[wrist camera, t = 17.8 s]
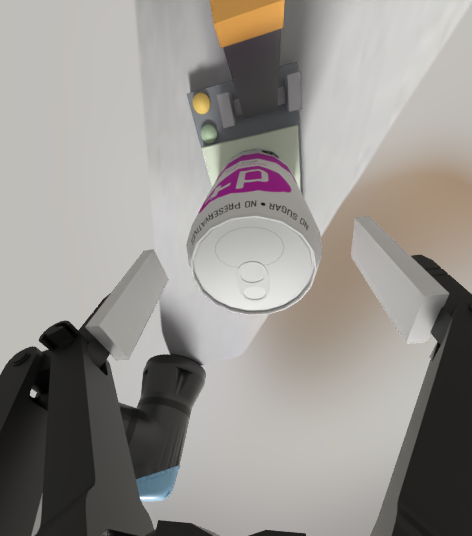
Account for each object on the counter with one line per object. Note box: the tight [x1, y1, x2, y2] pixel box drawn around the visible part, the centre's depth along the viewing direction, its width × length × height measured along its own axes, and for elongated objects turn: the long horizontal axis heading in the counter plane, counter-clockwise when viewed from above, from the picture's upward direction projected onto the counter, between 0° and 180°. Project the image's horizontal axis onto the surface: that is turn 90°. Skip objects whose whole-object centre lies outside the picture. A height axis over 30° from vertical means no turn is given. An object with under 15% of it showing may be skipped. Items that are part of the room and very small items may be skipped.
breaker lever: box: [210, 0, 285, 118], centre depth 15 cm, size 4×2×11 cm, turn 102°
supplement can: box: [186, 148, 322, 315], centre depth 18 cm, size 8×8×15 cm
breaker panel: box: [187, 62, 302, 193], centre depth 23 cm, size 10×14×4 cm
